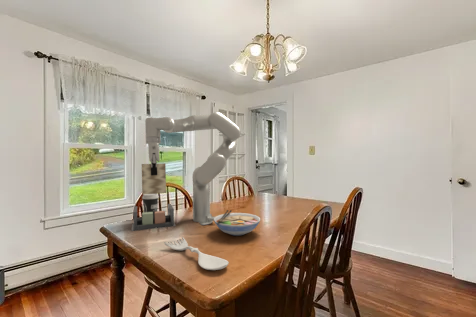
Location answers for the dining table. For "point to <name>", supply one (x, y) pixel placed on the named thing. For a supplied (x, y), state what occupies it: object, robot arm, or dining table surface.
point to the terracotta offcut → (159, 217)
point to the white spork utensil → (200, 256)
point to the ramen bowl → (236, 223)
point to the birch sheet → (153, 179)
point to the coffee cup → (150, 202)
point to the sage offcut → (147, 218)
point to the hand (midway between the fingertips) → (154, 174)
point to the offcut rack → (138, 221)
